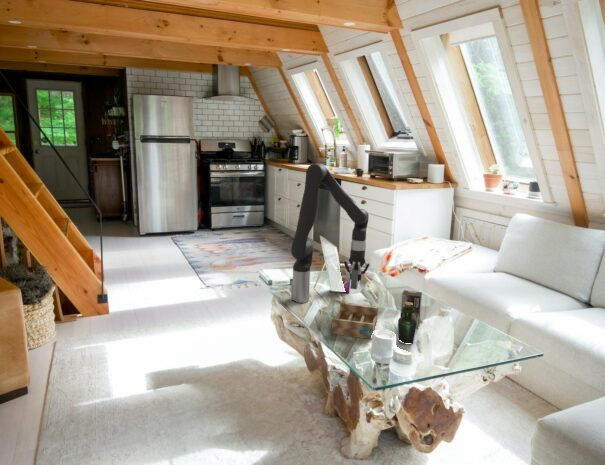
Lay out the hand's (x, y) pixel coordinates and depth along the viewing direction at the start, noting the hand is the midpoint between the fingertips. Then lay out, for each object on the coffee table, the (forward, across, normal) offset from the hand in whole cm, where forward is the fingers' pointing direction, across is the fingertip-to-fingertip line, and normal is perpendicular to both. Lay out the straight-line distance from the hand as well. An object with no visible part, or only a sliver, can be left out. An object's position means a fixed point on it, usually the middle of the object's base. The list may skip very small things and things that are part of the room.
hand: (355, 280), depth 249 cm
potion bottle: (+15, +28, -32) cm, 46 cm away
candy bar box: (+16, -12, +26) cm, 33 cm away
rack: (+16, +4, -23) cm, 28 cm away
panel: (+3, 0, 0) cm, 3 cm away
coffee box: (+15, +29, -11) cm, 35 cm away
